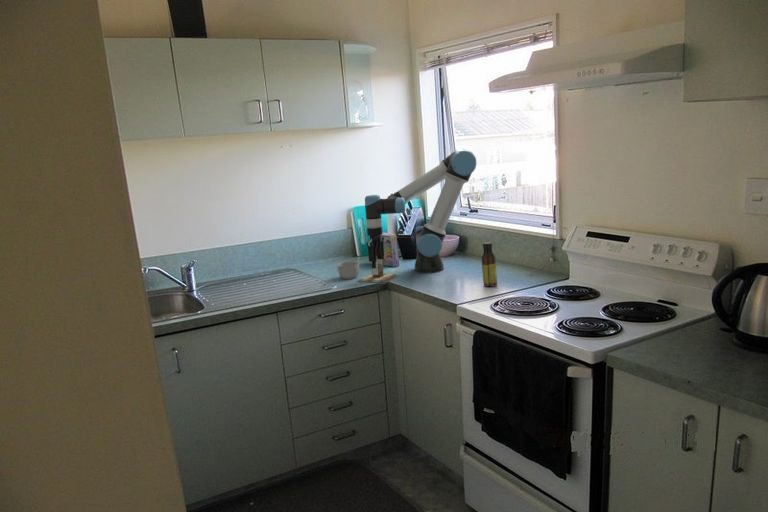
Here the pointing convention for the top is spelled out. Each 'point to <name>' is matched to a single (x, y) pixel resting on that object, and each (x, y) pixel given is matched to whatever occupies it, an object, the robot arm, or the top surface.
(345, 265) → the teacup
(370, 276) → the lid
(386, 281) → the mat
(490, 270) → the sauce bottle
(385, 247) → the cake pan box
